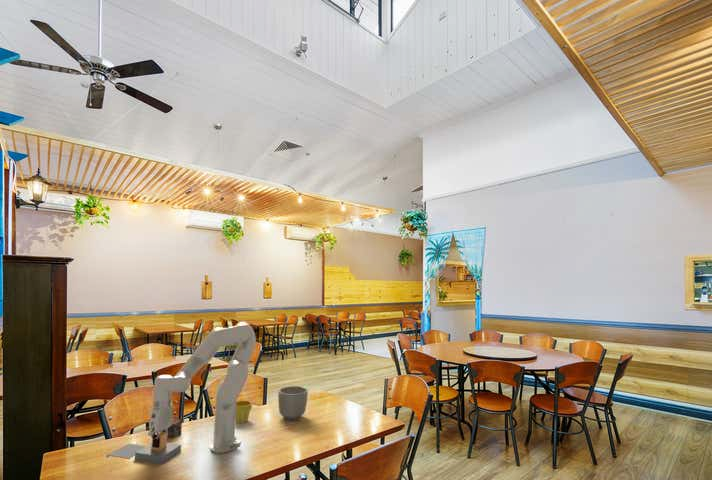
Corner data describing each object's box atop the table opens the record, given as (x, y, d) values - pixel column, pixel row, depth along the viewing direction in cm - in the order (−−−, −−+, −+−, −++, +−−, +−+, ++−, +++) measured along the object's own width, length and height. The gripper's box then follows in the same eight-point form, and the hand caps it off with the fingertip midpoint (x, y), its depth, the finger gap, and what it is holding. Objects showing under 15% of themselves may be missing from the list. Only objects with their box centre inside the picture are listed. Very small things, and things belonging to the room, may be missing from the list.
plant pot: (234, 425, 202) (235, 407, 203) (230, 419, 211) (231, 401, 212) (252, 422, 208) (253, 404, 209) (248, 416, 216) (249, 399, 217)
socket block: (180, 452, 170) (181, 444, 171) (161, 465, 159) (162, 456, 159) (155, 448, 173) (155, 441, 174) (134, 460, 162) (135, 452, 162)
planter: (282, 412, 225) (284, 385, 227) (310, 414, 222) (311, 386, 224) (272, 422, 208) (274, 393, 210) (302, 425, 206) (303, 395, 207)
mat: (149, 448, 174) (149, 446, 174) (128, 459, 162) (129, 458, 163) (128, 444, 177) (128, 443, 177) (106, 456, 165) (106, 454, 165)
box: (173, 439, 184) (174, 424, 185) (162, 438, 185) (164, 423, 186) (181, 434, 190) (182, 419, 191) (171, 433, 191) (172, 418, 192)
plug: (165, 453, 167) (167, 432, 168) (159, 456, 164) (162, 435, 165) (156, 451, 169) (158, 430, 169) (150, 454, 165) (152, 433, 166)
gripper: (155, 410, 160) (152, 454, 158) (181, 398, 176) (178, 438, 174) (141, 408, 161) (137, 452, 159) (168, 397, 177) (165, 436, 176)
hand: (159, 444), depth 167 cm, fingers closed on plug, 3 cm apart
